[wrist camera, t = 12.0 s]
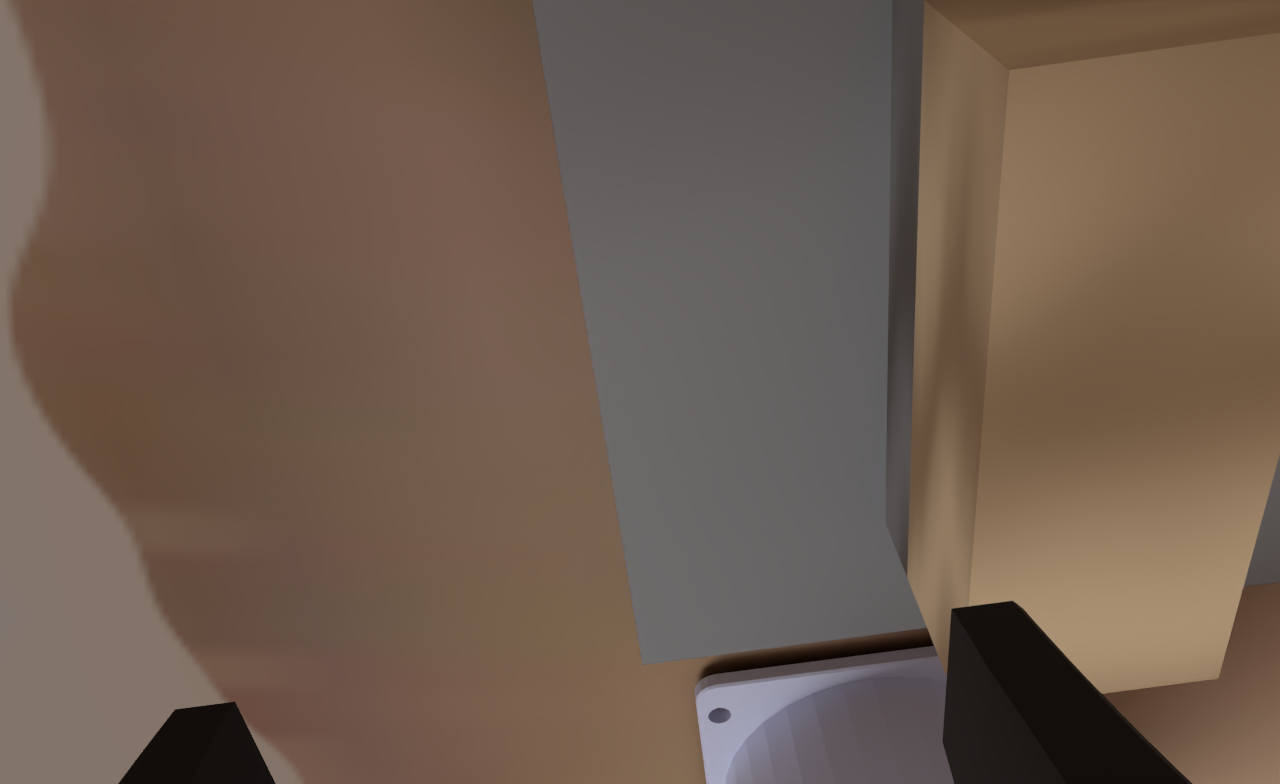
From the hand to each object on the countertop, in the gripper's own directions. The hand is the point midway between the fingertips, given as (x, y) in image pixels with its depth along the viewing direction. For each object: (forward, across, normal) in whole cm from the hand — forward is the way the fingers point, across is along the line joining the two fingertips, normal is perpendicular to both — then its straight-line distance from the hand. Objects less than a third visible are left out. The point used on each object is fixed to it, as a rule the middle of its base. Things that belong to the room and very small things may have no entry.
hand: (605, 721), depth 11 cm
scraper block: (+8, -7, 0) cm, 11 cm away
